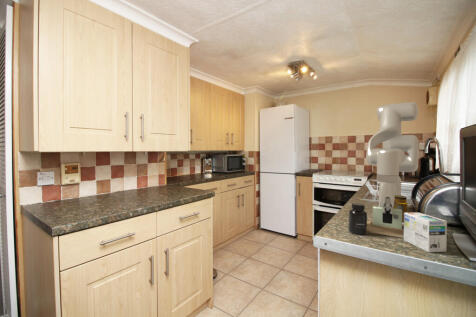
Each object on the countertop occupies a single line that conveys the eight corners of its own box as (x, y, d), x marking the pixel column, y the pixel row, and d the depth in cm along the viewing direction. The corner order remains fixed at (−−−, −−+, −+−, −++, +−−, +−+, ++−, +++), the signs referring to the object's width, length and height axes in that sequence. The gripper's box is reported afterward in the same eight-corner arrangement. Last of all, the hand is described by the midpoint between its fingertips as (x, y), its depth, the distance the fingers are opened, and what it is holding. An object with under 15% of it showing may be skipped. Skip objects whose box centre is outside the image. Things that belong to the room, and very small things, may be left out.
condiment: (410, 221, 107) (411, 196, 106) (403, 224, 102) (403, 198, 101) (393, 217, 113) (394, 194, 112) (385, 220, 108) (386, 196, 108)
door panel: (372, 226, 96) (372, 206, 96) (400, 231, 91) (401, 209, 91) (372, 229, 94) (372, 207, 93) (401, 233, 88) (402, 211, 88)
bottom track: (367, 226, 99) (367, 220, 99) (406, 232, 92) (406, 225, 92) (366, 231, 93) (366, 224, 93) (408, 238, 86) (408, 231, 86)
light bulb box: (447, 252, 74) (448, 220, 74) (428, 253, 74) (429, 221, 74) (418, 239, 85) (419, 211, 85) (402, 240, 85) (403, 212, 84)
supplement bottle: (360, 236, 88) (360, 206, 88) (344, 231, 94) (345, 203, 94) (370, 233, 91) (371, 204, 91) (355, 228, 97) (355, 201, 97)
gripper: (376, 176, 101) (376, 213, 102) (376, 181, 86) (376, 224, 87) (396, 177, 97) (396, 215, 98) (400, 182, 82) (399, 227, 83)
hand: (386, 219), depth 92 cm, fingers open, 9 cm apart
